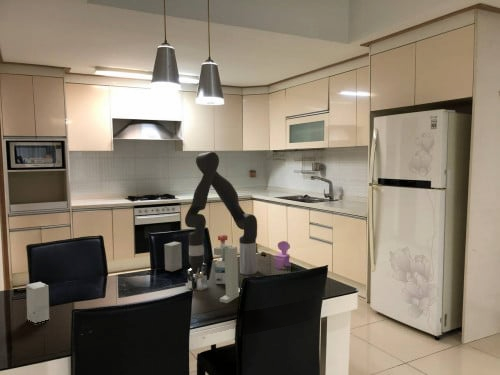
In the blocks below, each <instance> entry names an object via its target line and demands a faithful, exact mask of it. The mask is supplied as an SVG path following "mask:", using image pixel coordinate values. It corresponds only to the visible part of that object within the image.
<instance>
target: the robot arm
mask: <svg viewBox="0 0 500 375" xmlns="http://www.w3.org/2000/svg"><path fill="white" fill-rule="evenodd" d="M195 163H196V166H197V168H198V169H199V171H200V172H201V173H202V177H201V179H200V181H199V182H198V185H197V186H196V187H195V190H194V192H193V197H192V202H191V205H190V207H189V208H188V210H187V212H186V215H185V218H184V223H185V225H186V227H188V228H191V229H192V228H193V229H194V231H193V232H190V233H189V235H188V262H189V264H190V268H189V269H186V274H187V275H186V276H187V281H188V280H189V281H191V282H192V288H193V289H192V290H196V278H197V277H198V275H200V273H203V275H205V276H207V268H208V267H207V265H208V264H207V263H205V247H204V233H205V229H206V225H207V220H206V217H205V215H203V214H202V213H199V212H200V211H203V210H206V206H207V202H208V197H209V192H210V189H211V187H212V188H213V190H215V192H216V194H217V196H218V197H219V199H220V201H222V203H223V205H224V206H225V207H226V209H227V211H229V213H230V215H231V217H232V219H233V221H234V223H235V225H236V227H237V228H239V229H240V230H243V235H242V236H240V237H239V240H238V242H239V271H240V274H241V275H249V276H250V275H254V274H256V273H257V272H258V262H257V259H258V258H257V242H256V240H257V237H258V220H257V217H256V216H255V215H254V214H250V213H246V212H245V211H244V210H243V208H242V207H241V206H240V202H239V195H238V191H237V190H236V189H235V186H234V185H233V184H232V183H231V182H230V181H229V180H227V179H226V177H224V176H222V175H221V174H220V173H219V172H218V171H217V170H218V167H219V164H220V158H219V156H218V154H217V153H216V152H215V151H208V152H203V153H200V154H198V155H197V156H196V157H195ZM193 274H196V275H193ZM190 277H191V278H190ZM193 277H194V278H193Z"/></svg>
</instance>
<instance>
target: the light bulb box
mask: <svg viewBox="0 0 500 375" xmlns="http://www.w3.org/2000/svg"><path fill="white" fill-rule="evenodd" d="M214 271H215V284H217V285H219V284H220V285H226V283H225V268H221V267H217V264H216V262H215V263H214Z"/></svg>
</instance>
